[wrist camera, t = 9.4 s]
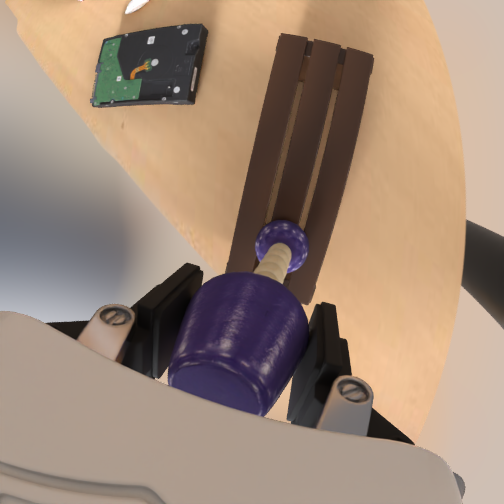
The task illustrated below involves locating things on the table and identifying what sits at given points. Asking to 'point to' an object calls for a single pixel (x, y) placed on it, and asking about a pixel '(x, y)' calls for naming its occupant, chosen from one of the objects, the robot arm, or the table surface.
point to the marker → (135, 5)
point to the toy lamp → (245, 328)
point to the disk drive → (150, 67)
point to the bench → (302, 151)
